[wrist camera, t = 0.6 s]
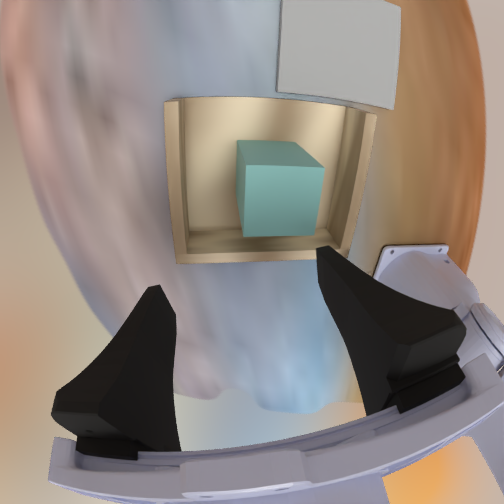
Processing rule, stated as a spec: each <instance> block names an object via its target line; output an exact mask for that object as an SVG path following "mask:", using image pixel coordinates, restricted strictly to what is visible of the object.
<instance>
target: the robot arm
mask: <svg viewBox="0 0 504 504" xmlns="http://www.w3.org/2000/svg"><path fill="white" fill-rule="evenodd" d="M448 249H449V247H448V246H447V245H446V244H443V245H405V246H386V247H384V249H383V250H382V253H381V256H380V259H379V262H378V265H377V268H376V271H375V274H374V276H373V277H371V276H369V275H368V274H366V273H365V272H363V271H362V270H361V269H359V268H358V267H357V266H355V265H354V264H352V263H351V262H350V261H348V260H347V259H346V258H345V257H343V256H342V255H341V254H339V253H338V252H337V251H336V250H334V249H333V248H332V247H331V246H329V245H327V246H323V247H319V248H316V258H317V272H318V283H319V286H320V289H321V292H322V295H323V297H324V300H325V302H326V305H327V307H328V309H329V311H330V313H331V315H332V317H333V319H334V321H335V323H336V325H337V327H338V329H339V331H340V333H341V335H342V337H343V339H344V342H345V344H346V347H347V350H348V353H349V355H350V358H351V361H352V365H353V368H354V371H355V374H356V377H357V381H358V384H359V388H360V392H361V395H362V399H363V403H364V407H365V411H366V417H363V418H360V419H357V420H354V421H351V422H348V423H346V424H342V425H339V426H335V427H332V428H328V429H325V430H321V431H317V432H313V433H309V434H306V435H301V436H297V437H292V438H288V439H283V440H278V441H273V442H267V443H262V444H255V445H249V446H241V447H234V448H224V449H214V450H201V451H184V452H183V451H181V447H180V442H179V436H178V431H177V424H176V417H175V407H174V394H173V368H174V357H175V346H176V334H177V332H176V314H175V312H174V310H173V308H172V307H171V305H170V303H169V301H168V299H167V297H166V295H165V294H164V292H163V290H162V288H161V286H160V285H155V286H151V287H148V288H147V289H146V291H145V292H144V294H143V295H142V297H141V298H140V300H139V301H138V303H137V304H136V306H135V307H134V309H133V310H132V312H131V313H130V315H129V316H128V318H127V319H126V321H125V322H124V324H123V325H122V327H121V328H120V329H119V331H118V332H117V334H116V335H115V336H114V338H113V339H112V340H111V341H110V343H109V344H108V345H107V346H106V347H105V349H104V350H103V351H102V352H101V353H100V354H99V355H98V356H97V358H95V360H93V362H92V363H91V364H90V365H89V366H88V367H87V368H85V369H84V370H83V371H82V372H81V373H80V374H79V375H78V376H76V377H75V378H74V379H73V380H71V381H70V382H69V383H67V384H66V385H65V386H63V387H62V388H61V389H59V390H58V391H57V392H56V396H55V399H54V403H53V408H52V412H51V416H52V417H53V419H54V420H55V421H56V422H57V423H58V424H59V425H61V426H63V427H64V428H65V429H67V430H69V431H70V432H72V433H73V434H75V435H77V442H76V441H74V440H71V439H66V438H60V437H54V441H53V447H52V453H51V460H50V467H49V476H48V481H49V482H50V483H53V484H56V485H58V486H60V487H63V488H65V489H68V490H71V491H74V492H76V493H79V494H83V495H86V496H90V497H94V498H98V499H103V500H107V501H113V502H118V503H123V504H390V503H389V500H388V497H387V493H386V490H385V487H384V483H383V480H382V477H383V476H386V475H388V474H391V473H393V472H395V471H398V470H400V469H402V468H404V467H406V466H409V465H411V464H413V463H415V462H417V461H419V460H421V459H423V458H425V457H426V456H428V455H430V454H432V453H434V452H436V451H437V450H439V449H441V448H443V447H444V446H446V445H448V444H449V443H451V442H453V441H454V440H456V439H458V438H460V437H461V436H470V437H472V438H473V440H474V441H475V443H476V445H477V446H478V448H479V450H480V452H481V453H482V455H483V457H484V459H485V460H486V462H487V464H488V466H489V468H490V469H491V471H492V473H493V475H494V477H495V479H496V481H497V483H498V485H499V487H500V489H501V491H502V493H503V495H504V366H503V365H504V325H503V324H502V323H501V322H500V320H499V319H498V318H497V317H496V315H495V314H494V313H493V312H492V311H491V310H490V309H489V308H488V307H487V306H486V305H485V304H484V303H480V299H479V295H478V292H477V289H476V288H475V286H474V284H473V283H472V282H471V281H470V279H469V278H468V277H467V276H466V275H465V274H464V273H463V272H462V270H461V269H460V268H459V267H458V266H457V265H456V264H455V263H454V262H453V261H452V260H451V259H450V257H449V256H448V255H447V251H448ZM391 250H392V251H391ZM502 366H503V368H502V369H501V371H499V372H498V373H497V371H498V370H499V369H500V368H501V367H502Z"/></svg>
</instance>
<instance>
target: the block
mask: <svg viewBox="0 0 504 504" xmlns="http://www.w3.org/2000/svg"><path fill="white" fill-rule="evenodd" d="M324 172H325V167H323V166H322V165H321V164H320V163H319V162H318V161H317V160H316V159H314V158H313V157H312V156H311V155H310V154H309V153H308V152H306V151H305V150H304V149H303V148H302V147H300V146H299V145H298V144H297V143H296V142H289V141H266V140H237V158H236V199H237V204H238V210H239V215H240V221H241V226H242V232H243V237H259V236H310V235H314V234H315V228H316V222H317V216H318V210H319V204H320V198H321V192H322V185H323V179H324Z"/></svg>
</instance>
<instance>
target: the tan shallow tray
mask: <svg viewBox="0 0 504 504" xmlns="http://www.w3.org/2000/svg"><path fill="white" fill-rule="evenodd" d="M376 118H377V115H375V114H372V113H369V112H366V111H363V110H359V109H356V108H352V107H346V106H340V105H333V104H326V103H319V102H310V101H301V100H290V99H278V98H261V97H190V98H173V99H171V100H168V101H166V102H164V123H165V147H166V165H167V179H168V192H169V203H170V214H171V224H172V233H173V241H174V250H175V258H176V264H195V263H226V262H256V261H283V260H309V259H317V258H316V248H319V247H323V246H327V245H329V246H331V247H332V248H333V249H334V250H336V251H337V252H338V253H339V254H341V255H342V256H343V257H345V258H347V257H348V254H349V250H350V246H351V242H352V239H353V235H354V231H355V227H356V222H357V218H358V214H359V210H360V205H361V201H362V196H363V192H364V187H365V182H366V177H367V172H368V167H369V161H370V156H371V150H372V144H373V138H374V132H375V125H376ZM237 140H266V141H289V142H296V143H297V144H298V145H299V146H300V147H302V148H303V149H304V150H305V151H306V152H308V153H309V154H310V155H311V156H312V157H313V158H314V159H316V160H317V161H318V162H319V163H320V164H321V165H322V166H323V167H325V172H324V179H323V185H322V192H321V198H320V204H319V210H318V216H317V222H316V228H315V234H314V235H310V236H259V237H243V232H242V226H241V221H240V215H239V210H238V204H237V199H236V158H237Z"/></svg>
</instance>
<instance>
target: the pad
mask: <svg viewBox="0 0 504 504" xmlns="http://www.w3.org/2000/svg"><path fill="white" fill-rule="evenodd" d="M400 29H401V7H399V6H396V5H394V4H391V3H389V2H386V1H384V0H281V11H280V30H279V48H278V65H277V81H276V92H287V93H297V94H307V95H315V96H322V97H329V98H336V99H342V100H348V101H354V102H359V103H364V104H369V105H374V106H378V107H383V108H387V109H391V110H393V109H394V102H395V94H396V85H397V75H398V64H399V50H400Z"/></svg>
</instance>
